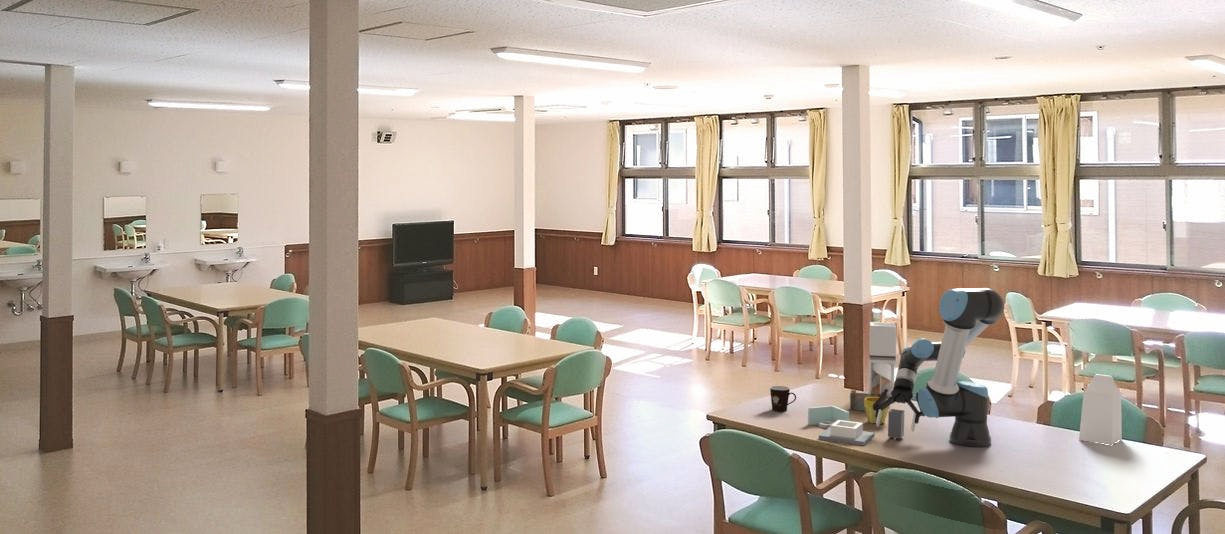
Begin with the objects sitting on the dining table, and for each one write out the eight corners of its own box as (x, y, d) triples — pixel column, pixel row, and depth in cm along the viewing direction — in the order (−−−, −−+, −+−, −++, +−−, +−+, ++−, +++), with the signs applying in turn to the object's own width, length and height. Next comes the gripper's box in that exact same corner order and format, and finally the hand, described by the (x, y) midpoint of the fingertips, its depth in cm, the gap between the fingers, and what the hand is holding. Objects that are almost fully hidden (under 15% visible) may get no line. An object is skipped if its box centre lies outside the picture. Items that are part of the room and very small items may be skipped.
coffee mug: (765, 409, 423) (766, 386, 422) (781, 407, 427) (782, 385, 426) (780, 414, 413) (781, 392, 412) (797, 412, 417) (797, 390, 416)
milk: (1078, 440, 374) (1081, 375, 371) (1089, 434, 382) (1092, 370, 379) (1111, 446, 365) (1114, 379, 363) (1121, 440, 373) (1125, 375, 371)
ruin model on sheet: (849, 410, 422) (850, 389, 421) (850, 409, 425) (850, 387, 424) (876, 412, 419) (876, 391, 418) (876, 411, 422) (877, 389, 421)
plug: (903, 437, 377) (904, 410, 376) (900, 440, 372) (901, 413, 371) (890, 436, 379) (891, 409, 378) (887, 439, 375) (888, 411, 374)
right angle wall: (807, 425, 397) (808, 408, 397) (832, 423, 401) (832, 405, 401) (823, 432, 386) (824, 414, 385) (849, 430, 390) (849, 412, 389)
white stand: (868, 400, 440) (870, 325, 437) (868, 395, 450) (870, 322, 447) (894, 401, 437) (896, 326, 434) (893, 396, 447) (895, 322, 444)
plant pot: (886, 419, 405) (887, 396, 404) (891, 425, 395) (892, 402, 394) (861, 418, 406) (862, 396, 406) (865, 425, 396) (866, 402, 395)
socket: (874, 436, 379) (874, 422, 378) (864, 445, 366) (864, 431, 365) (830, 430, 388) (830, 417, 387) (818, 439, 375) (818, 425, 374)
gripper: (937, 391, 381) (928, 436, 370) (875, 384, 394) (864, 428, 382) (935, 380, 376) (926, 426, 365) (872, 374, 389) (861, 418, 377)
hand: (894, 427), depth 374 cm, fingers open, 13 cm apart
